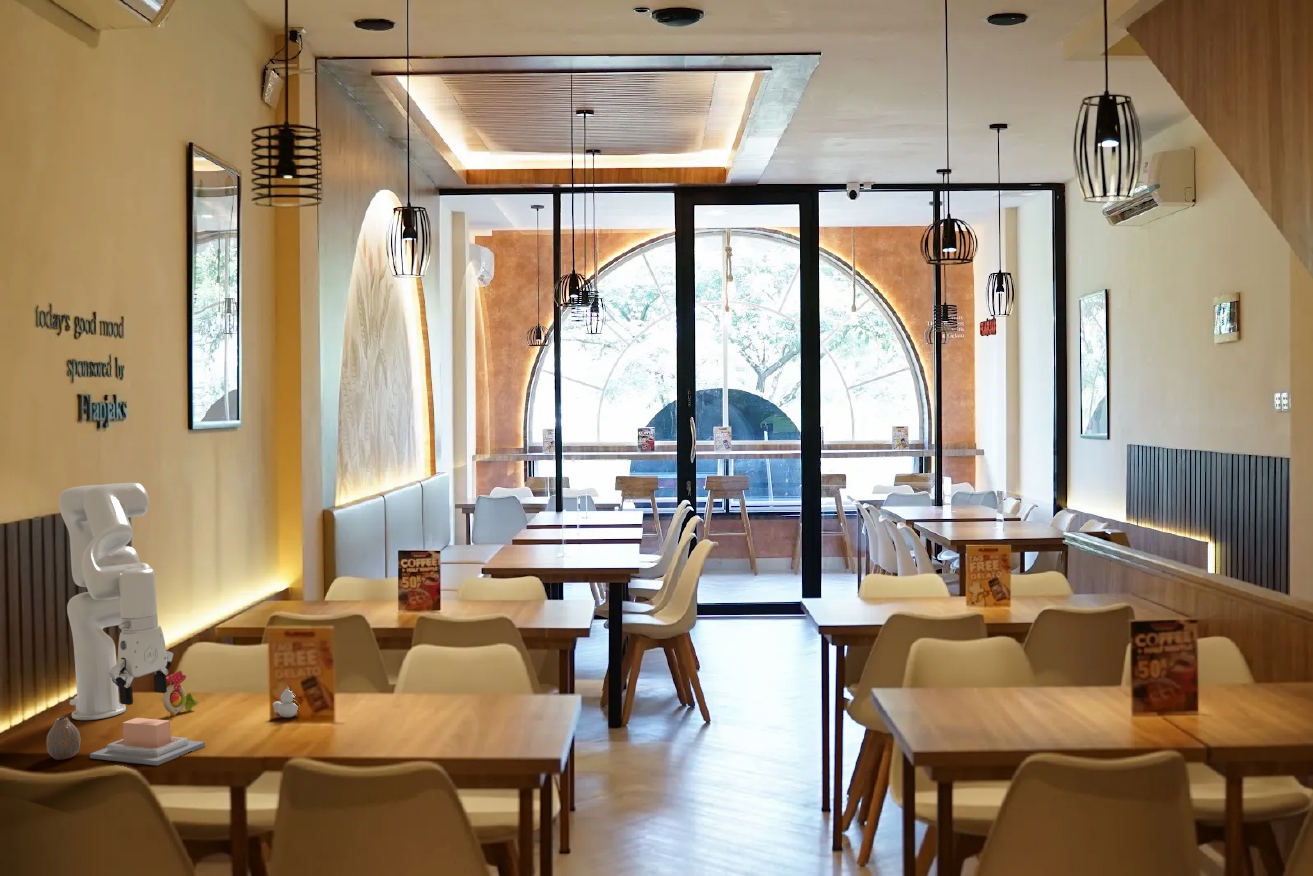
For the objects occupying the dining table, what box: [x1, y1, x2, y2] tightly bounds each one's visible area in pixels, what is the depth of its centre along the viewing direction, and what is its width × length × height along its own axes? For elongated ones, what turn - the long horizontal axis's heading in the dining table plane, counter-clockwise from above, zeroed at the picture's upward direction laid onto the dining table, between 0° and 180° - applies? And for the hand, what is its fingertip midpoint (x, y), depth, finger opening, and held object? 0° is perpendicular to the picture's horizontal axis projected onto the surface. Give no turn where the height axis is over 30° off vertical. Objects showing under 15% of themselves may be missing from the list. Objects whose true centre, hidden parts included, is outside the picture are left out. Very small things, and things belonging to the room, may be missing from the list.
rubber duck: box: [272, 686, 298, 718], centre depth 290 cm, size 5×7×8 cm
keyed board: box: [89, 735, 206, 766], centre depth 265 cm, size 20×14×2 cm
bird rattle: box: [162, 670, 199, 717], centre depth 298 cm, size 6×11×9 cm
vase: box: [46, 716, 82, 761], centre depth 265 cm, size 7×7×9 cm
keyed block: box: [122, 717, 172, 748], centre depth 265 cm, size 4×10×6 cm, turn 67°
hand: (144, 698), depth 265 cm, fingers open, 9 cm apart
